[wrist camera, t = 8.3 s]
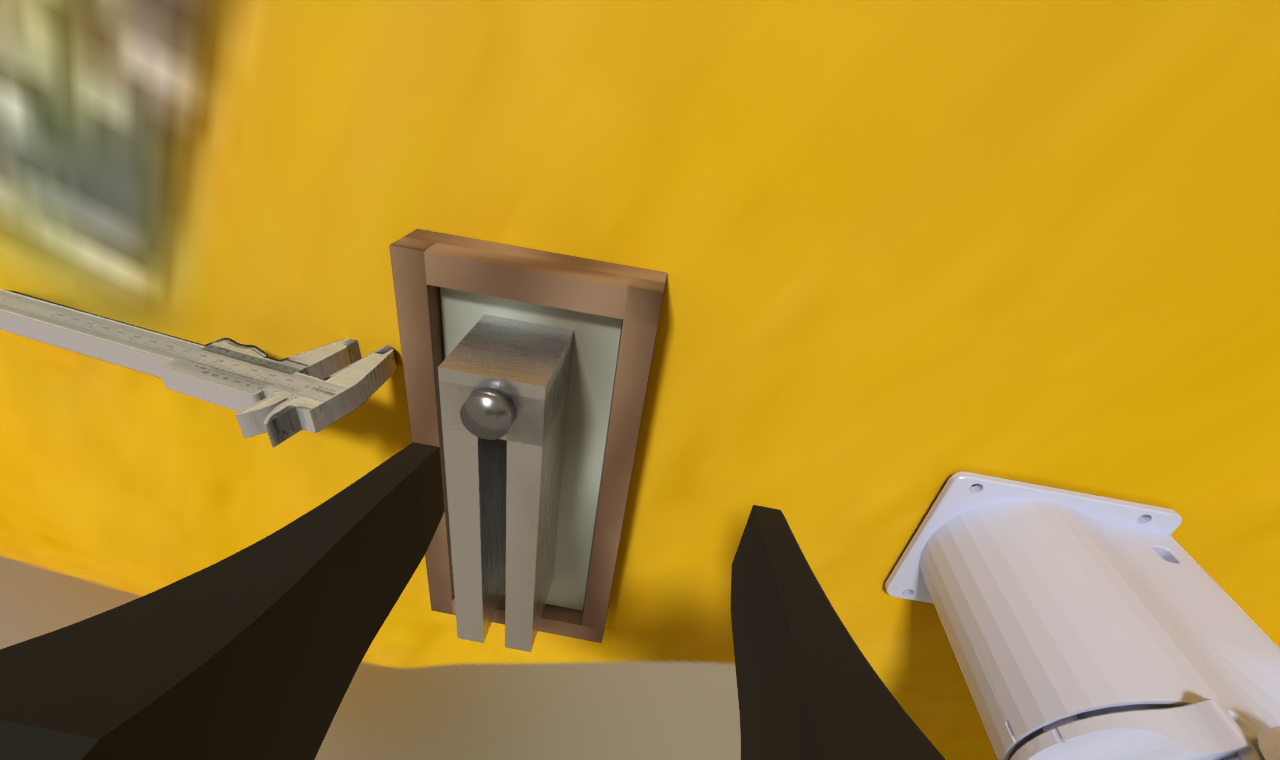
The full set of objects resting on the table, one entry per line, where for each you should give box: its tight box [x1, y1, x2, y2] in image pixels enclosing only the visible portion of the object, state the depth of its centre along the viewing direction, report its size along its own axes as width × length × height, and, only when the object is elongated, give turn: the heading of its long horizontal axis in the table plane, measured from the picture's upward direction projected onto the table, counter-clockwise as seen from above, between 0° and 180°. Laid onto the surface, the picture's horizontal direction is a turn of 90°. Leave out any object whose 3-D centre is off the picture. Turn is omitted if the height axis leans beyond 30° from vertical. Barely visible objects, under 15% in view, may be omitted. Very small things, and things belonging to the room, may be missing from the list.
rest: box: [389, 229, 667, 643], centre depth 24 cm, size 9×20×2 cm, turn 172°
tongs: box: [438, 314, 574, 652], centre depth 22 cm, size 3×14×5 cm, turn 172°
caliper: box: [0, 289, 396, 447], centre depth 21 cm, size 20×1×6 cm, turn 84°
